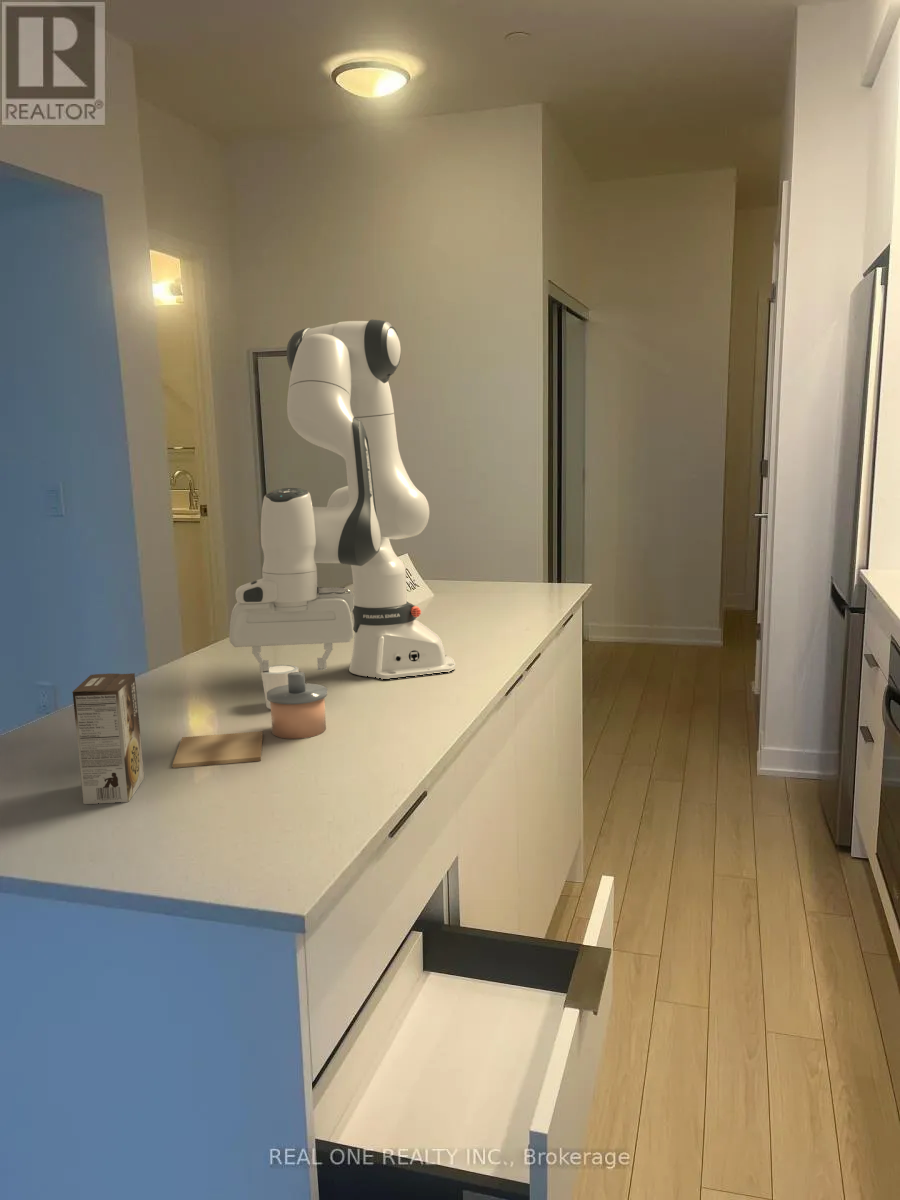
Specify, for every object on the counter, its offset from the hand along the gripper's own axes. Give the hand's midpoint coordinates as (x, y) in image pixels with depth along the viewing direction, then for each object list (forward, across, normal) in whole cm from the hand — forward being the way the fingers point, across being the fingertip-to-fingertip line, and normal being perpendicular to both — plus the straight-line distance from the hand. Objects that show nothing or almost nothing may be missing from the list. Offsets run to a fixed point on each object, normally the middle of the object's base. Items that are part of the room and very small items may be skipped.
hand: (293, 670), depth 154 cm
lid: (+4, 0, 0) cm, 5 cm away
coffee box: (+11, +25, +22) cm, 35 cm away
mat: (+11, +12, +7) cm, 18 cm away
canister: (+10, -1, 0) cm, 11 cm away
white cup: (+11, +2, -16) cm, 20 cm away
